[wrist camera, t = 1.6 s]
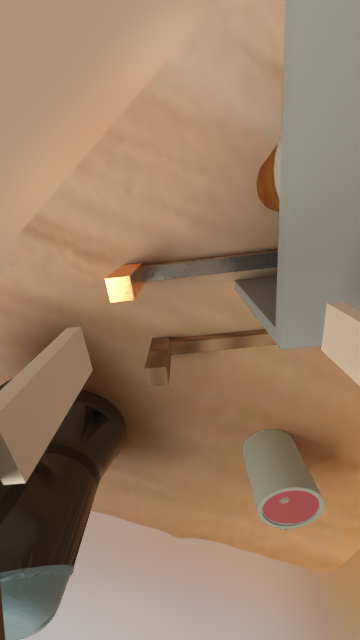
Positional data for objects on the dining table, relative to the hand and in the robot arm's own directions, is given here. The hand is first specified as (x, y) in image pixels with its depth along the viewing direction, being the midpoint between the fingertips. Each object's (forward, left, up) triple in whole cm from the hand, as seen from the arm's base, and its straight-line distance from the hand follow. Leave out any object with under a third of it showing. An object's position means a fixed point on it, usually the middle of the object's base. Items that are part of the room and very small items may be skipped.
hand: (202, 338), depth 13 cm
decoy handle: (+4, -11, -21) cm, 24 cm away
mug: (+11, -36, -21) cm, 43 cm away
